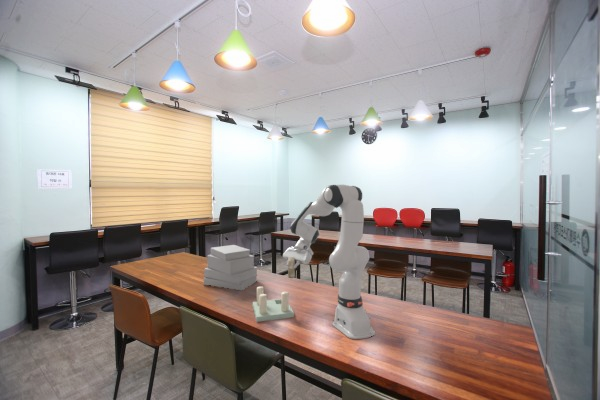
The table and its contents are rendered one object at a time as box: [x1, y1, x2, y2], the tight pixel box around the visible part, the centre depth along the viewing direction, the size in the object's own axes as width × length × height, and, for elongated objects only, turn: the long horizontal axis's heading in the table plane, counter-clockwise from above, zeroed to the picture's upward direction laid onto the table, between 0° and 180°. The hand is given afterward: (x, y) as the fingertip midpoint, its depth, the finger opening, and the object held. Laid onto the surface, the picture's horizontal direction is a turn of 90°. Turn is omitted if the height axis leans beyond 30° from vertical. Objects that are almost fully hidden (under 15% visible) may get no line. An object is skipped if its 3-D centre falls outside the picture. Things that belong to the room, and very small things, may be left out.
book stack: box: [203, 244, 259, 292], centre depth 197 cm, size 30×35×26 cm
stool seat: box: [252, 286, 295, 323], centre depth 150 cm, size 20×20×12 cm
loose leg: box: [287, 257, 296, 279], centre depth 164 cm, size 4×4×12 cm
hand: (290, 266), depth 163 cm, fingers closed on loose leg, 4 cm apart
